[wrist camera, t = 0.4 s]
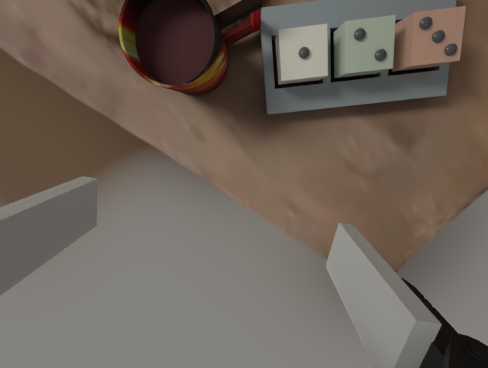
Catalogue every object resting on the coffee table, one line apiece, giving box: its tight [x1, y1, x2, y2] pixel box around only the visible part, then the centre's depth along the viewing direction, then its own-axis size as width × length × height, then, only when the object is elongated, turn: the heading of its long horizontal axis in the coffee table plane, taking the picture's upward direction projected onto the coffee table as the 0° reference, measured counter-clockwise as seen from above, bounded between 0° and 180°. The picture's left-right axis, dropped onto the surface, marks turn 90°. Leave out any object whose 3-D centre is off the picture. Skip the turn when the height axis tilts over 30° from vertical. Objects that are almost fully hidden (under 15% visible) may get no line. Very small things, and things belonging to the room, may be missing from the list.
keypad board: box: [260, 0, 456, 115], centre depth 34 cm, size 13×24×2 cm, turn 96°
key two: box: [334, 15, 396, 78], centre depth 31 cm, size 6×6×4 cm
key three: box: [391, 6, 466, 72], centre depth 30 cm, size 6×6×4 cm
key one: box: [275, 24, 328, 85], centre depth 31 cm, size 6×6×4 cm
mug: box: [119, 0, 262, 95], centre depth 30 cm, size 10×14×12 cm
